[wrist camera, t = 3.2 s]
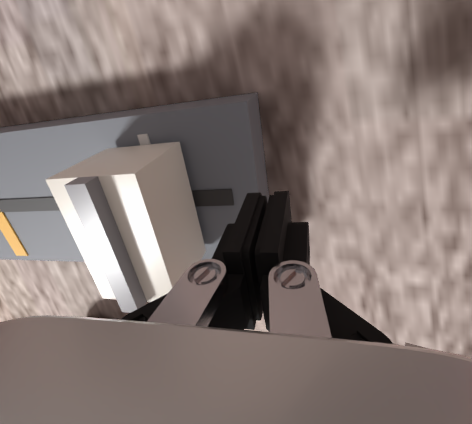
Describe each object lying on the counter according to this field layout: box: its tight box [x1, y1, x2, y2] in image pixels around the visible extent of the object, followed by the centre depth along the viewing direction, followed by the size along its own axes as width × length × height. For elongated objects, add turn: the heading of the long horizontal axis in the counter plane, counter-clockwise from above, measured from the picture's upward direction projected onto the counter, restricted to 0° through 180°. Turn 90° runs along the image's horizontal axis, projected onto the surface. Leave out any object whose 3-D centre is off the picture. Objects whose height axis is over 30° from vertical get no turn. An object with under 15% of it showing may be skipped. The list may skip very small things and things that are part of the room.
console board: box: [0, 93, 269, 262], centre depth 21 cm, size 26×10×3 cm, turn 99°
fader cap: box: [45, 142, 206, 313], centre depth 15 cm, size 4×7×5 cm, turn 9°
